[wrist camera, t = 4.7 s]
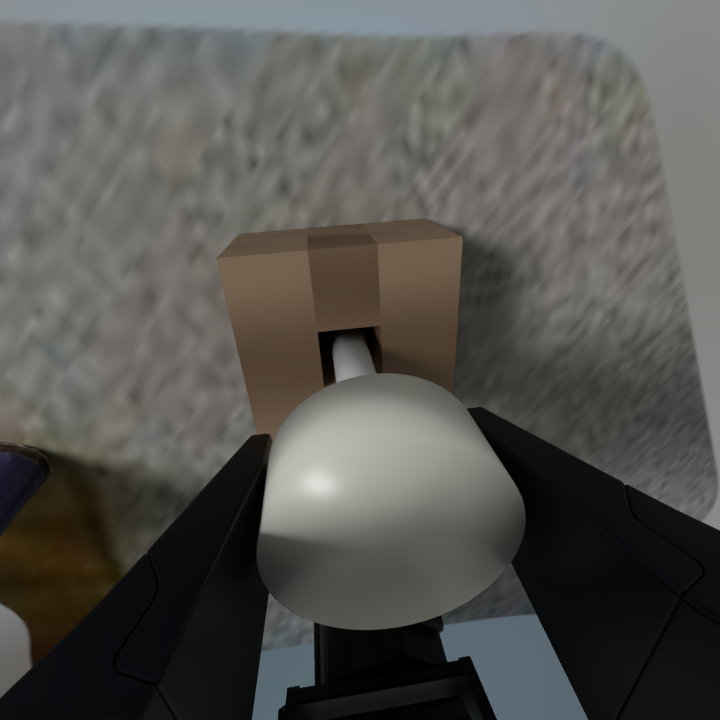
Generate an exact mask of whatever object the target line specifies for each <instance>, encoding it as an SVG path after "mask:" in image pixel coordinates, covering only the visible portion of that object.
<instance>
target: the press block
mask: <svg viewBox="0 0 720 720" xmlns="http://www.w3.org/2000/svg"><path fill="white" fill-rule="evenodd" d="M462 242H463V237H462V236H460V235H458V234H456V233H454V232H452V231H450V230H448V229H446V228H444V227H442V226H440V225H437V224H435V223H433V222H431V221H429V220H427V219H417V220H405V221H393V222H381V223H369V224H357V225H345V226H333V227H321V228H309V229H297V230H284V231H272V232H260V233H248V234H239V235H238V236H237V237H236V238H235V239H234V240H233V241H232V242H231V243H230V245H229V246H228V247H227V248H226V249H225V250H224V251H223V252H222V253H221V254H220V255H219V256H218V257H217V262H218V267H219V271H220V275H221V280H222V284H223V288H224V293H225V297H226V301H227V306H228V310H229V314H230V319H231V323H232V327H233V331H234V336H235V340H236V344H237V349H238V353H239V357H240V362H241V366H242V370H243V375H244V379H245V383H246V388H247V392H248V396H249V401H250V405H251V409H252V414H253V418H254V422H255V427H256V431H257V435H258V434H270V436H271V438H272V442H273V440H274V437H275V435H276V433H277V432H278V430H279V428H280V426H281V425H282V423H283V422H284V421H285V419H286V418H287V417H288V416H289V414H290V413H291V412H292V411H293V410H294V409H295V408H296V407H297V406H299V405H300V404H301V403H302V402H303V401H305V400H306V399H307V398H309V397H310V396H311V395H313V394H315V393H316V392H318V391H320V390H322V389H324V388H325V387H327V386H330V385H332V384H335V383H336V377H335V369H334V361H333V354H332V346H331V340H332V338H322V339H321V338H320V332H323V331H332V330H342V329H351V328H361V327H367V334H363V335H364V337H365V340H366V343H367V346H368V349H369V352H370V355H371V358H372V362H373V365H374V368H375V371H376V374H381V373H392V374H404V375H409V376H415V377H418V378H421V379H425V380H428V381H430V382H433V383H435V384H437V385H439V386H441V387H443V388H444V389H446V390H447V391H449V392H450V393H452V394H454V377H455V361H456V344H457V327H458V310H459V293H460V276H461V259H462Z"/></svg>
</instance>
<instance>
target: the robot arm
mask: <svg viewBox="0 0 720 720" xmlns="http://www.w3.org/2000/svg"><path fill="white" fill-rule="evenodd" d="M467 410H468V412H469V413H470V415H471V416H472V418H473V420H474V421H475V423H476V424H477V426H478V427H479V429H480V430H481V432H482V434H483V435H484V437H485V438H486V440H487V441H488V443H489V444H490V446H491V447H492V449H493V451H494V452H495V454H496V455H497V457H498V458H499V460H500V461H501V463H502V465H503V466H504V468H505V469H506V471H507V472H508V474H509V475H510V477H511V479H512V480H513V482H514V483H515V485H516V487H517V488H518V490H519V492H520V494H521V496H522V499H523V503H524V506H525V515H526V523H525V532H524V535H523V539H522V542H521V545H520V547H519V549H518V551H517V553H516V555H515V557H514V558H513V560H512V561H511V563H512V565H513V567H514V569H515V571H516V573H517V575H518V577H519V579H520V581H521V583H522V585H523V587H524V590H525V592H526V594H527V596H528V598H529V600H530V602H531V604H532V606H533V608H534V610H535V612H536V614H537V616H538V618H539V620H540V622H541V624H542V626H543V628H544V630H545V632H546V634H547V636H548V638H549V640H550V642H551V644H552V647H553V649H554V651H555V652H556V655H557V657H558V659H559V661H560V663H561V665H562V667H563V669H564V671H565V673H566V675H567V677H568V679H569V681H570V683H571V685H572V687H573V689H574V691H575V693H576V695H577V697H578V699H579V701H580V703H581V706H582V707H583V710H584V712H585V714H586V716H587V718H588V720H720V530H718V529H715V528H713V527H711V526H709V525H707V524H705V523H703V522H701V521H699V520H696V519H694V518H692V517H690V516H688V515H686V514H684V513H682V512H680V511H678V510H676V509H674V508H672V507H670V506H668V505H666V504H664V503H662V502H660V501H658V500H656V499H654V498H652V497H650V496H648V495H646V494H644V493H643V492H641V491H639V490H637V489H635V488H633V487H631V486H629V485H624V483H623V482H622V481H620V480H618V479H616V478H614V477H612V476H610V475H608V474H607V473H605V472H603V471H601V470H599V469H597V468H595V467H593V466H591V465H590V464H588V463H586V462H584V461H582V460H580V459H578V458H576V457H575V456H573V455H571V454H569V453H567V452H565V451H563V450H561V449H559V448H558V447H556V446H554V445H552V444H550V443H548V442H546V441H544V440H542V439H541V438H539V437H537V436H535V435H533V434H531V433H529V432H527V431H526V430H524V429H522V428H520V427H518V426H516V425H514V424H512V423H510V422H509V421H507V420H505V419H503V418H501V417H499V416H497V415H495V414H493V413H492V412H490V411H488V410H486V409H484V408H482V407H476V408H468V409H467ZM272 443H273V442H272V438H271V436H270V434H258V435H252V436H251V437H250V438H249V439H248V440H247V441H246V442H245V443H244V444H243V445H242V446H241V448H240V449H239V450H238V451H237V452H236V453H235V454H234V455H233V456H232V458H231V459H230V460H229V461H228V462H227V463H226V464H225V465H224V466H223V468H222V469H221V470H220V471H219V472H218V473H217V474H216V475H215V476H214V477H213V479H212V480H211V481H210V482H209V483H208V484H207V485H206V486H205V487H204V489H203V490H202V491H201V492H200V493H199V494H198V495H197V496H196V497H195V499H194V500H193V501H192V502H191V503H190V504H189V505H188V506H187V507H186V509H185V510H184V511H183V512H182V513H181V514H180V515H179V516H178V517H177V518H176V520H175V521H174V522H173V523H172V524H171V525H170V526H169V527H168V528H167V530H166V531H165V532H164V533H163V534H162V535H161V536H160V537H159V538H158V540H157V541H156V542H155V543H154V544H153V545H152V546H151V547H150V548H149V550H148V551H147V554H148V555H147V554H144V555H143V556H142V557H141V558H140V559H139V560H138V561H137V563H136V564H135V565H134V566H133V567H132V568H131V569H130V570H129V571H128V573H127V574H126V575H125V576H124V577H123V578H122V579H121V580H120V581H119V582H118V583H117V584H116V585H115V586H114V587H113V588H112V590H111V591H110V592H109V593H108V594H107V595H106V596H105V597H104V598H103V599H102V600H101V601H100V602H99V603H98V604H97V605H96V606H95V607H94V608H93V609H92V610H91V611H90V612H89V613H88V614H87V615H86V616H85V617H84V618H83V619H82V620H81V621H80V622H79V623H78V624H77V625H76V626H75V627H74V628H73V629H72V630H71V631H70V632H69V633H68V634H67V635H66V636H64V637H63V638H62V639H61V640H60V641H59V642H58V643H57V644H56V645H55V646H54V647H53V648H52V649H51V650H50V651H49V652H48V653H47V654H46V655H45V656H44V657H43V658H42V659H40V660H39V661H38V662H37V663H36V664H35V665H34V666H33V667H32V668H31V669H30V670H29V671H28V672H27V673H26V674H25V675H24V676H23V677H22V678H21V679H20V680H19V681H18V682H17V683H15V684H14V685H13V686H12V687H11V688H10V689H9V690H8V691H7V692H6V693H5V694H4V695H3V696H2V697H1V698H0V720H252V714H253V706H254V698H255V691H256V684H257V677H258V669H259V661H260V654H261V647H262V639H263V632H264V625H265V617H266V610H267V602H268V595H269V591H268V589H267V588H266V586H265V585H264V583H263V581H262V578H261V576H260V573H259V570H258V565H257V542H258V534H259V527H260V519H261V511H262V504H263V496H264V489H265V481H266V474H267V466H268V458H269V454H270V449H271V445H272ZM442 631H443V621H442V617H441V615H440V616H437V617H434V618H432V619H429V620H426V621H422V622H419V623H415V624H411V625H406V626H401V627H396V628H388V629H377V630H352V629H343V628H336V627H331V626H326V625H322V624H319V623H316V622H314V653H315V654H314V656H315V657H314V659H315V686H310V687H303V688H300V686H295V687H289V688H287V697H286V705H284V706H283V707H282V708H281V709H279V712H278V720H497V719H496V717H495V714H494V712H493V709H492V707H491V705H490V702H489V700H488V698H487V695H486V693H485V691H484V688H483V686H482V684H481V681H480V679H479V676H478V674H477V672H476V670H475V667H474V665H473V662H472V660H471V658H470V656H466V657H461V658H458V660H457V661H452V662H447V660H446V656H445V652H444V649H443V645H442V642H441V638H440V633H441V632H442Z"/></svg>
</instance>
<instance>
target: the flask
mask: <svg viewBox="0 0 720 720" xmlns="http://www.w3.org/2000/svg"><path fill="white" fill-rule="evenodd" d="M54 471H56V470H54V469H53V468H51V465H50V462H49V460H48V458H47V456H46V455H44V454H42V453H41V452H40V451H38V449H36V448H30V447H26V446H24V445H21V444H18V445H14V444H9V443H0V537H1V535H2V534H3V532H4V531H5V529H6V528H7V527H8V525H9V524H10V523H11V521H12V520H13V518H14V517H15V516H16V514H17V513H18V512H19V511H20V510H21V509H22V508H23V506H24V505H25V503H26V502H27V501H28V500H29V499H30V498H31V496H32V495H33V494H34V493H35V492H36V491H37V490H38V488H39V487H40V486H41V485H42V484H43V483H44V482H45V480H46V479H47V478H48V477H49V475H50V473H51V472H54Z"/></svg>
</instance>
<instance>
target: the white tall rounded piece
mask: <svg viewBox="0 0 720 720" xmlns="http://www.w3.org/2000/svg"><path fill="white" fill-rule="evenodd" d="M331 346H332V354H333V361H334V369H335V377H336V383H335V384H332V385H330V386H327V387H325V388H324V389H322V390H320V391H318V392H316V393H315V394H313V395H311V396H310V397H309V398H307V399H306V400H305V401H303V402H302V403H301V404H300V405H299V406H297V407H296V408H295V409H294V410H293V411H292V412H291V413H290V414H289V416H288V417H287V418H286V419H285V421H284V422H283V423H282V425H281V426H280V428H279V430H278V432H277V433H276V435H275V437H274V440H273V443H272V445H271V449H270V454H269V458H268V466H267V474H266V481H265V489H264V496H263V504H262V511H261V519H260V527H259V534H258V542H257V565H258V570H259V573H260V576H261V578H262V581H263V583H264V585H265V586H266V588H267V589H268V591H269V592H270V594H271V595H272V596H273V597H274V598H275V599H276V600H277V601H278V602H279V603H280V604H282V605H283V606H284V607H285V608H287V609H288V610H290V611H292V612H293V613H295V614H297V615H298V616H300V617H303V618H305V619H307V620H310V621H312V622H316V623H319V624H322V625H326V626H331V627H336V628H343V629H352V630H377V629H388V628H396V627H401V626H406V625H411V624H415V623H419V622H422V621H426V620H429V619H432V618H434V617H437V616H440V615H442V614H445V613H447V612H449V611H451V610H453V609H455V608H457V607H459V606H461V605H463V604H465V603H466V602H468V601H470V600H471V599H473V598H474V597H476V596H477V595H479V594H480V593H481V592H483V591H484V590H485V589H486V588H488V587H489V586H490V585H491V584H492V583H493V582H494V581H495V580H496V579H497V578H498V577H500V576H501V574H502V573H503V572H504V571H505V570H506V568H507V567H508V566H509V565H510V563H511V561H512V560H513V558H514V557H515V555H516V553H517V551H518V549H519V547H520V545H521V542H522V539H523V535H524V532H525V523H526V515H525V506H524V503H523V499H522V496H521V494H520V492H519V490H518V488H517V487H516V485H515V483H514V482H513V480H512V479H511V477H510V475H509V474H508V472H507V471H506V469H505V468H504V466H503V465H502V463H501V461H500V460H499V458H498V457H497V455H496V454H495V452H494V451H493V449H492V447H491V446H490V444H489V443H488V441H487V440H486V438H485V437H484V435H483V434H482V432H481V430H480V429H479V427H478V426H477V424H476V423H475V421H474V420H473V418H472V416H471V415H470V413H469V412H468V410H467V409H466V408H465V407H464V405H463V404H462V403H461V402H460V401H459V400H458V399H457V398H456V397H455V396H454V395H453V394H452V393H450V392H449V391H447V390H446V389H444V388H443V387H441V386H439V385H437V384H435V383H433V382H430V381H428V380H425V379H421V378H418V377H415V376H409V375H404V374H392V373H381V374H376V371H375V368H374V365H373V362H372V358H371V355H370V352H369V349H368V346H367V343H366V340H365V337H364V335H363V333H362V332H361V331H360V330H358V329H356V328H351V329H342V330H338V331H337V332H336V333H335V334H334V335H333V337H332V340H331Z"/></svg>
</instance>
